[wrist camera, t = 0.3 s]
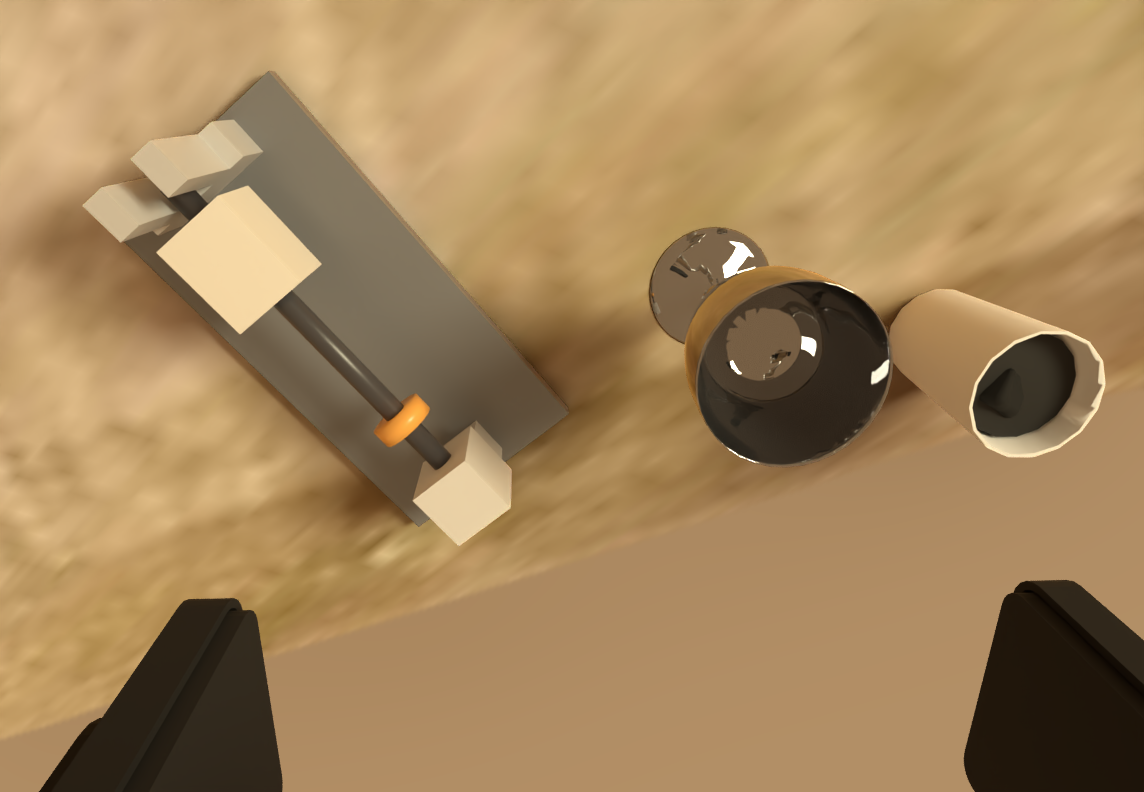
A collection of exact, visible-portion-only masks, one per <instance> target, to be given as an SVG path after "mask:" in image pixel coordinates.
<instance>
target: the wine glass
mask: <svg viewBox="0 0 1144 792" xmlns="http://www.w3.org/2000/svg"><path fill="white" fill-rule="evenodd" d="M650 301H651V305H652V309H653V312H654V315H655V317H656V319H657V321H658V322H659V324H660V325H661V327H662V328H663V329H664V330H665V331H666V332H667V333H668V334H669V335H670V336H672V337H673V338H675V339H676V340H678V341H680V342H682V343H684V344H685V348H684V359H685V370H686V376H687V381H688V385H689V389H690V392H691V394H692V397H693V399H694V401H695V404H696V406H697V408H698V410H699V413H700V415H701V416H702V418H703V420H704V422H705V423H706V425H707V426H708V428H709V429H710V431H711V432H712V433H713V435H714V436H715V437H716V439H717V440H718V441H719V442H720V443H722V444H723V445H724V446H725V447H726V448H727V449H728V450H730V451H731V452H733V453H734V454H736V455H737V456H739V457H741V458H743V459H746V460H748V461H750V462H753V463H756V464H761V465H765V466H770V467H793V466H802V465H806V464H810V463H813V462H817V461H820V460H822V459H824V458H827V457H829V456H831V455H834V454H835V453H837V452H839V451H840V450H842V449H843V448H845V447H847V446H848V445H849V444H851V443H852V442H853V441H854V440H855V439H856V438H858V437H859V436H860V435H861V434H862V433H863V432H864V431H865V430H866V428H867V427H868V426H869V425H870V424H871V423H872V422H873V420H874V419H875V417H876V415H877V414H878V412H879V411H880V409H881V408H882V405H883V403H884V401H885V398H886V396H887V394H888V391H889V387H890V383H891V379H892V371H893V354H892V346H891V342H890V339H889V336H888V333H887V329H886V328H885V326H884V324H883V322H882V321H881V319H880V317H879V315H878V314H877V313H876V312H875V311H874V310H873V309H872V307H871V306H870V305H869V304H868V303H867V302H866V301H864V300H863V299H862V298H860V297H859V296H858V295H856V294H855V293H854V292H852V291H851V290H849V289H848V288H846V287H845V286H843V285H841V284H839V283H837V282H835V281H833V280H831V279H828V278H826V277H824V276H822V275H820V274H818V273H815V272H811V271H808V270H804V269H800V268H794V267H788V266H769V264H768V262H767V259H766V257H765V255H764V254H763V252H762V250H761V249H760V248H759V247H758V245H757V244H756V243H755V242H754V241H753V240H751V239H750V238H749V237H747V236H746V235H744V234H742V233H740V232H738V231H735V230H732V229H728V228H720V227H711V228H703V229H699V230H696V231H693V232H691V233H688V234H686V235H684V236H682V237H681V238H680V239H678V240H677V241H675V242H674V243H673V244H672V245H671V246H670V247H669V248H668V249H667V250H666V251H665V252H664V254H663V255H662V256H661V258H660V259H659V261H658V263H657V265H656V267H655V269H654V272H653V275H652V279H651V285H650Z"/></svg>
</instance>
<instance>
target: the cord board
mask: <svg viewBox="0 0 1144 792" xmlns="http://www.w3.org/2000/svg"><path fill="white" fill-rule="evenodd" d="M130 160H131V161H132V162H133V163H134V164H135V165H136V166H137V167H138V168H139V169H140V170H141V171H142V172H143V173H144V174H145V175H146V176H147V177H145V178H141V179H136V180H132V181H127V182H123V183H118V184H114V185H109V186H105V187H101V188H100V189H99V190H98V191H97V192H96V193H95V194H94V195H93V196H92V197H91V198H90V199H89V200H88V201H86V202H85V203H84V204H83V205H82V206H83V207H84V208H85V209H86V210H87V211H88V212H89V213H90V214H91V215H92V216H93V217H94V218H95V219H97V220H98V221H99V222H100V223H101V224H102V225H103V226H104V227H105V228H106V229H107V230H108V231H109V232H110V233H111V234H112V235H113V236H114V237H115V238H116V239H117V240H118V241H119V242H120V243H121V242H125V243H126V244H127V245H128V246H129V247H130V248H131V249H132V250H133V251H134V252H135V253H136V254H137V255H138V256H139V257H140V258H141V259H142V260H143V261H144V262H145V263H147V264H148V265H149V266H150V267H151V268H152V269H153V270H154V271H155V272H156V273H157V274H158V275H159V276H160V277H161V278H162V279H163V280H164V281H165V282H166V283H167V284H168V285H169V286H170V287H171V288H172V289H173V290H174V291H175V292H176V293H178V294H179V295H180V296H181V297H182V298H183V299H184V300H185V301H186V302H187V303H188V304H189V305H190V306H191V307H192V308H193V309H194V310H195V311H196V312H197V313H198V314H199V315H200V316H201V317H202V318H203V319H204V320H205V321H206V322H207V323H209V324H210V325H211V326H212V327H213V328H214V329H215V330H216V331H217V332H218V333H219V334H220V335H221V336H222V337H223V338H224V339H225V340H226V341H227V342H228V343H229V344H230V345H231V346H232V347H233V348H234V349H235V350H236V351H237V352H238V353H240V354H241V355H242V356H243V357H244V358H245V359H246V360H247V361H248V362H249V363H250V364H251V365H252V366H253V367H254V368H255V369H256V370H257V371H258V372H259V373H260V374H261V375H262V376H263V377H264V378H265V379H266V380H267V381H268V382H269V383H271V384H272V385H273V386H274V387H275V388H276V389H277V390H278V391H279V392H280V393H281V394H282V395H283V396H284V397H285V398H286V399H287V400H288V401H289V402H290V403H291V404H292V405H293V406H294V407H295V408H296V409H297V410H298V411H299V412H300V413H302V414H303V415H304V416H305V417H306V418H307V419H308V420H309V421H310V422H311V423H312V424H313V425H314V426H315V427H316V428H317V429H318V430H319V431H320V432H321V433H322V434H323V435H324V436H325V437H326V438H327V439H328V440H329V441H330V442H331V443H333V444H334V445H335V446H336V447H337V448H338V449H339V450H340V451H341V452H342V453H343V454H344V455H345V456H346V457H347V458H348V459H349V460H350V461H351V462H352V463H353V464H354V465H355V466H356V467H357V468H358V469H359V470H360V471H361V472H362V473H364V474H365V475H366V476H367V477H368V478H369V479H370V480H371V481H372V482H373V483H374V484H375V485H376V486H377V487H378V488H379V489H380V490H381V491H382V492H383V493H384V494H385V495H386V496H387V497H388V498H389V499H390V500H391V501H392V502H393V503H395V504H396V505H397V506H398V507H399V508H400V509H401V510H402V511H403V512H404V513H405V514H406V515H407V516H408V517H409V518H410V519H411V520H412V521H413V522H414V523H415V524H416V525H417V526H418V527H419V526H421V525H422V524H423V523H425V522H426V521H427V520H429V519H430V518H431V519H432V520H433V521H434V522H435V523H436V524H437V525H438V526H439V527H440V528H441V529H442V530H443V531H444V532H445V533H446V534H447V535H448V536H449V537H450V538H451V539H452V540H453V541H454V542H455V543H456V544H457V545H458V546H460V545H461V544H463V543H464V542H465V541H467V540H468V539H469V538H471V537H472V536H473V535H475V534H476V533H477V532H479V531H480V530H481V529H483V528H484V527H486V526H487V525H488V524H490V523H491V522H492V521H494V520H495V519H496V518H498V517H499V516H500V515H502V514H503V513H505V512H506V511H507V510H509V509H510V508H511V483H512V469H511V468H510V467H509V466H508V465H507V464H506V463H505V462H506V461H507V460H508V459H510V458H511V457H512V456H514V455H515V454H516V453H518V452H519V451H520V450H522V449H523V448H524V447H526V446H527V445H528V444H530V443H531V442H532V441H534V440H535V439H536V438H538V437H539V436H540V435H542V434H543V433H544V432H546V431H547V430H548V429H549V428H551V427H552V426H553V425H555V424H556V423H557V422H559V421H560V420H561V419H563V418H564V417H565V416H567V415H568V414H569V412H568V407H567V406H566V405H565V404H564V402H563V401H562V400H561V399H560V398H559V397H558V396H557V394H556V393H555V392H554V391H553V390H552V389H551V388H550V386H549V385H548V384H547V383H546V382H545V381H544V380H543V378H542V377H541V376H540V375H539V374H538V373H537V372H536V370H535V369H534V368H533V367H532V366H531V365H530V364H529V362H528V361H527V360H526V359H525V358H524V357H523V355H522V354H521V353H520V352H519V351H518V350H517V349H516V347H515V346H514V345H513V344H512V343H511V342H510V341H509V339H508V338H507V337H506V336H505V335H504V334H503V333H502V331H501V330H500V329H499V328H498V327H497V326H496V325H495V323H494V322H493V321H492V320H491V319H490V318H489V317H488V315H487V314H486V313H485V312H484V311H483V310H482V309H481V307H480V306H479V305H478V304H477V303H476V302H475V301H474V299H473V298H472V297H471V296H470V295H469V294H468V293H467V291H466V290H465V289H464V288H463V287H462V286H461V285H460V283H459V282H458V281H457V280H456V279H455V278H454V277H453V275H452V274H451V273H450V272H449V271H448V270H447V268H446V267H445V266H444V265H443V264H442V263H441V262H440V260H439V259H438V258H437V257H436V256H435V255H434V254H433V252H432V251H431V250H430V249H429V248H428V247H427V246H426V244H425V243H424V242H423V241H422V240H421V239H420V238H419V236H418V235H417V234H416V233H415V232H414V231H413V230H412V228H411V227H410V226H409V225H408V224H407V223H406V222H405V220H404V219H403V218H402V217H401V216H400V215H399V214H398V212H397V211H396V210H395V209H394V208H393V207H392V206H391V204H390V203H389V202H388V201H387V200H386V199H385V198H384V196H383V195H382V194H381V193H380V192H379V191H378V189H377V188H376V187H375V186H374V185H373V184H372V183H371V181H370V180H369V179H368V178H367V177H366V176H365V175H364V173H363V172H362V171H361V170H360V169H359V168H358V167H357V165H356V164H355V163H354V162H353V161H352V160H351V159H350V157H349V156H348V155H347V154H346V153H345V152H344V151H343V149H342V148H341V147H340V146H339V145H338V144H337V143H336V141H335V140H334V139H333V138H332V137H331V136H330V135H329V133H328V132H327V131H326V130H325V129H324V128H323V127H322V125H321V124H320V123H319V122H318V121H317V120H316V119H315V117H314V116H313V115H312V114H311V113H310V112H309V110H308V109H307V108H306V107H305V106H304V105H303V104H302V102H301V101H300V100H299V99H298V98H297V97H296V96H295V94H294V93H293V92H292V91H291V90H290V89H289V88H288V86H287V85H286V84H285V83H284V82H283V81H282V80H281V78H280V77H279V76H278V75H277V74H276V73H275V72H273V71H268V72H267V73H266V74H265V75H264V76H263V77H262V78H261V79H260V80H259V81H258V82H256V83H255V84H254V85H253V86H252V87H251V88H250V89H249V90H248V91H247V92H246V93H245V94H244V95H243V96H242V97H241V98H240V99H239V100H237V101H236V102H235V103H234V104H233V105H232V106H231V107H230V108H229V109H228V110H227V111H226V112H225V113H224V114H223V115H222V116H221V117H220V118H219V119H217V120H216V121H212V122H210V123H209V124H208V125H207V126H206V127H205V128H204V129H203V130H202V131H201V132H200V133H199V134H195V135H187V136H180V137H172V138H164V139H156V140H150V141H149V142H148V143H147V144H146V145H145V146H144V147H143V148H141V149H140V150H139V151H138V152H137V153H136V154H135V155H134V156H133V157H132V158H131V159H130ZM245 186H249V187H250V188H251V189H252V190H253V191H254V192H255V193H256V194H257V196H258V197H259V198H260V199H261V200H262V201H263V202H264V203H265V204H266V205H267V206H268V207H269V208H270V209H271V210H272V211H273V213H274V214H275V215H276V216H277V217H278V218H279V219H280V220H281V221H282V222H283V223H284V224H285V225H286V226H287V227H288V229H289V230H290V231H291V232H292V233H293V234H294V235H295V236H296V237H297V238H298V239H299V240H300V241H301V242H302V243H303V245H304V246H305V247H306V248H307V249H308V250H309V251H310V252H311V253H312V254H313V255H314V256H315V257H316V258H317V259H318V260H319V262H320V263H321V264H322V265H320V266H319V267H318V268H317V269H316V270H315V271H313V272H312V273H311V274H310V275H309V276H308V277H307V278H305V279H304V280H303V281H302V282H301V283H300V284H298V285H297V286H296V287H295V288H294V289H293V290H291V291H290V292H289V293H288V294H287V295H285V296H284V297H283V298H282V299H281V300H280V301H278V302H277V303H276V304H275V305H274V306H273V307H272V308H271V309H270V310H268V311H267V312H266V313H265V314H264V315H263V316H261V317H260V318H259V319H258V320H257V321H256V322H254V323H253V324H252V325H251V326H250V327H248V328H247V329H246V330H245V331H244V332H243V333H241V334H239V333H238V332H237V331H236V330H235V329H234V328H233V327H232V326H231V325H230V324H229V323H228V322H227V321H226V320H225V319H224V318H223V317H222V316H220V315H219V314H218V313H217V312H216V311H215V310H214V309H213V308H212V307H211V306H210V305H209V304H208V303H207V302H206V301H205V300H204V299H203V298H202V297H201V296H200V295H199V294H198V293H197V292H196V291H195V290H194V289H193V288H192V287H191V286H190V285H189V284H188V283H187V282H186V281H185V280H184V279H183V278H182V277H181V276H180V275H179V274H178V273H177V272H176V271H174V270H173V269H172V268H171V267H170V266H169V265H168V264H167V263H166V262H165V261H164V260H163V259H162V258H161V257H160V256H159V255H158V254H157V253H156V252H157V251H158V250H159V249H161V248H162V247H163V246H164V245H165V244H166V243H167V242H168V241H169V240H170V239H171V238H172V237H174V236H175V235H176V234H177V233H178V232H179V231H180V230H181V229H182V228H183V227H184V226H185V225H187V224H188V223H189V222H190V221H191V220H192V219H193V218H194V217H195V216H196V215H197V214H198V213H200V212H201V211H202V210H203V209H204V208H205V207H206V206H207V205H208V204H209V203H210V202H212V201H213V200H214V199H215V198H216V197H217V196H218V195H221V194H224V193H227V192H230V191H233V190H236V189H239V188H242V187H245Z"/></svg>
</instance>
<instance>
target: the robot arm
mask: <svg viewBox="0 0 1144 792" xmlns="http://www.w3.org/2000/svg"><path fill="white" fill-rule="evenodd" d="M964 766H965V771H966V775H967V778H968V780H969V782H970V784H971V786H972V788H973V790H974V791H975V792H1144V640H1143V639H1141V638H1140V637H1139V636H1138V635H1137V634H1136V633H1134V632H1133V631H1132V630H1131V629H1130V628H1129V627H1128V626H1126V625H1125V624H1124V623H1123V622H1122V621H1121V620H1119V619H1118V618H1117V617H1116V616H1115V615H1114V614H1113V613H1111V612H1110V611H1109V610H1108V609H1107V608H1106V607H1104V606H1103V605H1102V604H1101V603H1100V602H1099V601H1097V600H1096V599H1095V598H1094V597H1093V596H1092V595H1091V594H1090V593H1088V592H1087V591H1086V590H1085V589H1084V588H1083V587H1081V586H1080V585H1078V584H1077V583H1075V582H1074V581H1069V580H1051V581H1050V580H1049V581H1025V582H1022V583H1020V584H1019V585H1018V586H1017V587H1016V588H1015V590H1014V593H1011V594H1008V595H1007V596H1006V597H1005V598H1004V600H1003V603H1002V606H1001V610H1000V614H999V618H998V622H997V626H996V630H995V634H994V638H993V642H992V646H991V650H990V654H989V658H988V662H987V666H986V670H985V673H984V677H983V682H982V685H981V689H980V693H979V698H978V701H977V705H976V709H975V713H974V717H973V721H972V725H971V729H970V733H969V737H968V741H967V745H966V749H965V753H964ZM39 792H282V773H281V767H280V760H279V754H278V748H277V741H276V735H275V729H274V723H273V716H272V710H271V703H270V697H269V691H268V685H267V678H266V672H265V666H264V659H263V653H262V646H261V640H260V634H259V627H258V621H257V617H256V614H255V613H254V611H252V610H242V607H241V604H240V602H239V601H238V600H237V599H235V598H225V599H188V600H185V601H183V603H182V604H181V605H180V606H179V607H178V608H177V610H176V611H175V613H174V614H173V616H172V617H171V619H170V620H169V622H168V623H167V624H166V626H165V627H164V629H163V630H162V632H161V633H160V635H159V636H158V638H157V639H156V640H155V642H154V643H153V645H152V646H151V648H150V649H149V651H148V652H147V653H146V655H145V656H144V658H143V659H142V661H141V662H140V664H139V665H138V667H137V668H136V669H135V671H134V672H133V674H132V675H131V677H130V678H129V680H128V681H127V683H126V684H125V685H124V687H123V688H122V690H121V691H120V693H119V694H118V696H117V697H116V698H115V700H114V701H113V703H112V704H111V706H110V707H109V709H108V710H107V712H106V713H105V714H104V716H103V717H102V718H99V719H97V720H95V721H93V722H91V723H90V724H89V725H88V726H87V727H86V728H85V729H84V730H83V731H82V732H81V734H80V735H79V736H78V737H77V739H76V740H75V742H74V743H73V744H72V746H71V747H70V749H69V750H68V752H67V753H66V754H65V756H64V757H63V759H62V760H61V762H60V763H59V764H58V766H57V767H56V768H55V770H54V771H53V773H52V774H51V776H50V777H49V778H48V780H47V781H46V783H45V784H44V786H43V787H42V788H41V790H40V791H39Z"/></svg>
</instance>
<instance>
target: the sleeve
mask: <svg viewBox="0 0 1144 792" xmlns="http://www.w3.org/2000/svg"><path fill="white" fill-rule="evenodd" d="M156 253H157V254H158V255H159V256H160V257H161V258H162V259H163V260H164V261H165V262H166V263H167V264H168V265H169V266H170V267H171V268H172V269H173V270H174V271H176V272H177V273H178V274H179V275H180V276H181V277H182V278H183V279H184V280H185V281H186V282H187V283H188V284H189V285H190V286H191V287H192V288H193V289H194V290H195V291H196V292H197V293H198V294H199V295H200V296H201V297H202V298H203V299H204V300H205V301H206V302H207V303H208V304H209V305H210V306H211V307H212V308H213V309H214V310H215V311H216V312H217V313H218V314H219V315H220V316H222V317H223V318H224V319H225V320H226V321H227V322H228V323H229V324H230V325H231V326H232V327H233V328H234V329H235V330H236V331H237V332H238V333H239V334H241V333H243V332H244V331H245V330H246V329H247V328H248V327H250V326H251V325H252V324H253V323H254V322H256V321H257V320H258V319H259V318H260V317H261V316H263V315H264V314H265V313H266V312H267V311H268V310H270V309H271V308H272V307H273V306H274V305H275V304H276V303H277V302H278V301H280V300H281V299H282V298H283V297H284V296H285V295H287V294H288V293H289V292H290V291H291V290H293V289H294V288H295V287H296V286H297V285H298V284H300V283H301V282H302V281H303V280H304V279H305V278H307V277H308V276H309V275H310V274H311V273H312V272H313V271H315V270H316V269H317V268H318V267H319V266H320V265H322V264H321V263H320V262H319V260H318V259H317V258H316V257H315V256H314V255H313V254H312V253H311V252H310V251H309V250H308V249H307V248H306V247H305V246H304V245H303V243H302V242H301V241H300V240H299V239H298V238H297V237H296V236H295V235H294V234H293V233H292V232H291V231H290V230H289V229H288V227H287V226H286V225H285V224H284V223H283V222H282V221H281V220H280V219H279V218H278V217H277V216H276V215H275V214H274V213H273V211H272V210H271V209H270V208H269V207H268V206H267V205H266V204H265V203H264V202H263V201H262V200H261V199H260V198H259V197H258V196H257V194H256V193H255V192H254V191H253V190H252V189H251V188H250V187H249V186H245V187H242V188H239V189H236V190H233V191H230V192H227V193H224V194H221V195H218V196H217V197H216V198H215V199H214V200H213V201H212V202H210V203H209V204H208V205H207V206H206V207H205V208H204V209H203V210H202V211H201V212H200V213H198V214H197V215H196V216H195V217H194V218H193V219H192V220H191V221H190V222H189V223H188V224H187V225H185V226H184V227H183V228H182V229H181V230H180V231H179V232H178V233H177V234H176V235H175V236H174V237H172V238H171V239H170V240H169V241H168V242H167V243H166V244H165V245H164V246H163V247H162V248H161V249H159V250H158V251H157V252H156Z"/></svg>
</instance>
